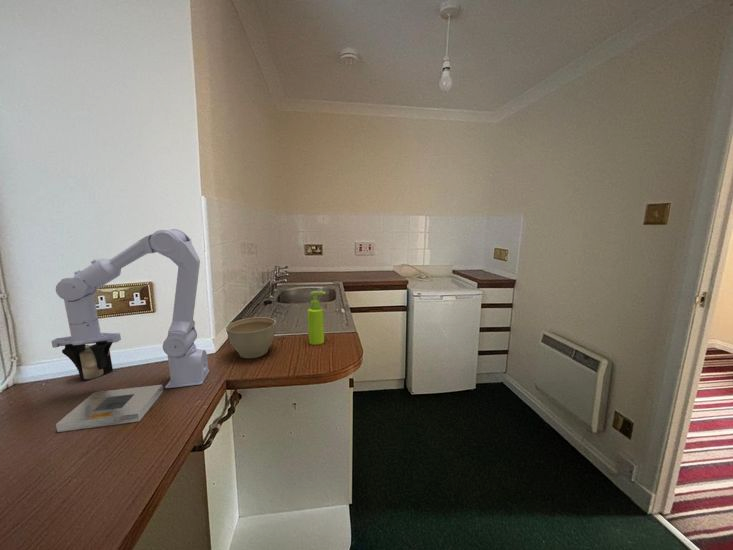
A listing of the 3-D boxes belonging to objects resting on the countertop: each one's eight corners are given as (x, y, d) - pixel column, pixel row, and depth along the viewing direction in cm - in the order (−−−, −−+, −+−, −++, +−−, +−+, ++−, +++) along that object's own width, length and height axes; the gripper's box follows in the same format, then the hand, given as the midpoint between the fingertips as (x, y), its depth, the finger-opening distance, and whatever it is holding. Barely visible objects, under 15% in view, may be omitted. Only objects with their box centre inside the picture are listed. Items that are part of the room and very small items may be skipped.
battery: (79, 378, 90) (73, 347, 88) (106, 368, 96) (101, 339, 94) (86, 381, 88) (80, 349, 86) (113, 371, 94) (108, 341, 92)
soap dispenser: (325, 344, 113) (323, 293, 109) (307, 344, 113) (305, 293, 110) (327, 338, 119) (326, 289, 115) (310, 338, 119) (308, 289, 115)
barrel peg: (106, 371, 84) (102, 347, 83) (97, 378, 80) (93, 353, 79) (90, 372, 83) (85, 349, 82) (80, 380, 79) (75, 355, 78)
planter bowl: (269, 340, 117) (267, 314, 115) (283, 355, 104) (281, 325, 102) (225, 350, 108) (222, 322, 106) (234, 368, 95) (231, 336, 93)
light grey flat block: (163, 391, 82) (162, 384, 82) (139, 421, 70) (137, 413, 70) (95, 399, 79) (94, 391, 79) (57, 432, 66) (55, 423, 66)
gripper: (37, 328, 73) (48, 379, 76) (106, 323, 76) (114, 372, 79) (59, 319, 80) (69, 366, 82) (121, 315, 83) (129, 360, 86)
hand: (92, 368), depth 81 cm, fingers closed on barrel peg, 4 cm apart
